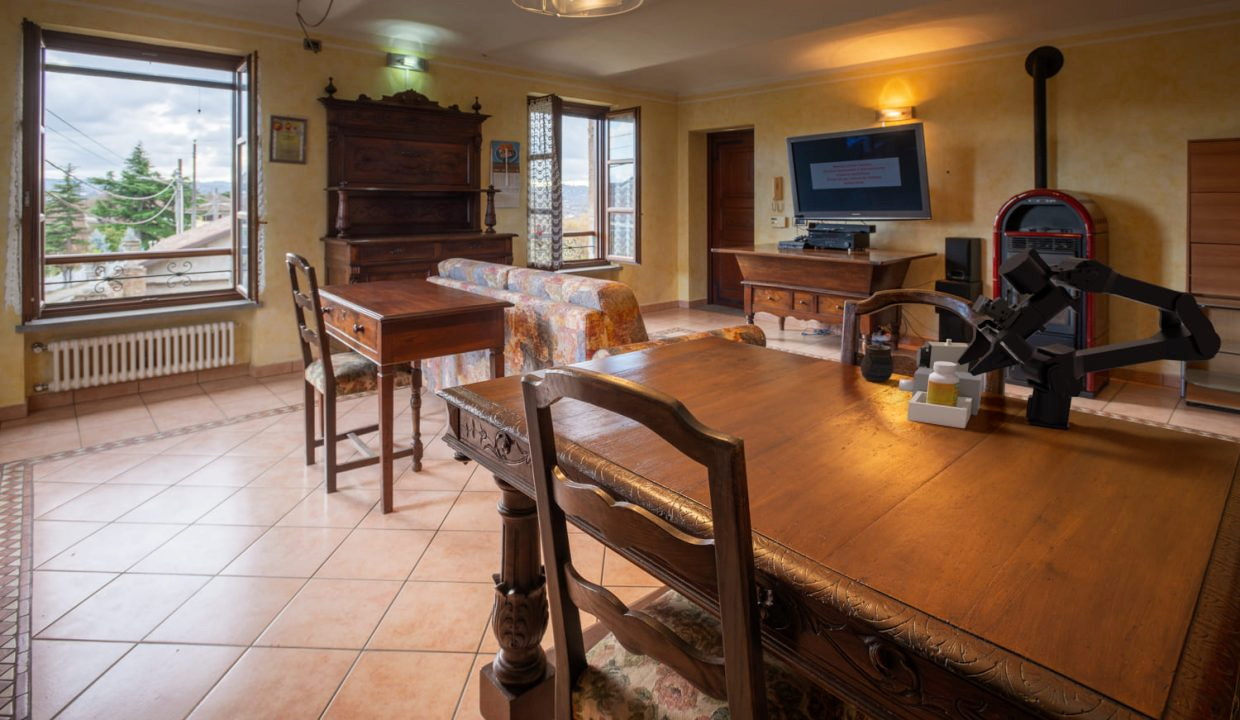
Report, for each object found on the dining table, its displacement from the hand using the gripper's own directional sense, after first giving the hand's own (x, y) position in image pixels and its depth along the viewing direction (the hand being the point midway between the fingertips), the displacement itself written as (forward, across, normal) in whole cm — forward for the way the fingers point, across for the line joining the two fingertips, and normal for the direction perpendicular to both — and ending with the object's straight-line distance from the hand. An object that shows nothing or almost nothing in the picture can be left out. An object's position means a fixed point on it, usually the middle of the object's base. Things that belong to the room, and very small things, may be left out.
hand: (964, 368), depth 133 cm
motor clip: (+10, -3, +4) cm, 11 cm away
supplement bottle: (+9, 0, +4) cm, 10 cm away
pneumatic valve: (+6, -20, +8) cm, 23 cm away
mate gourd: (+15, -29, -1) cm, 33 cm away
